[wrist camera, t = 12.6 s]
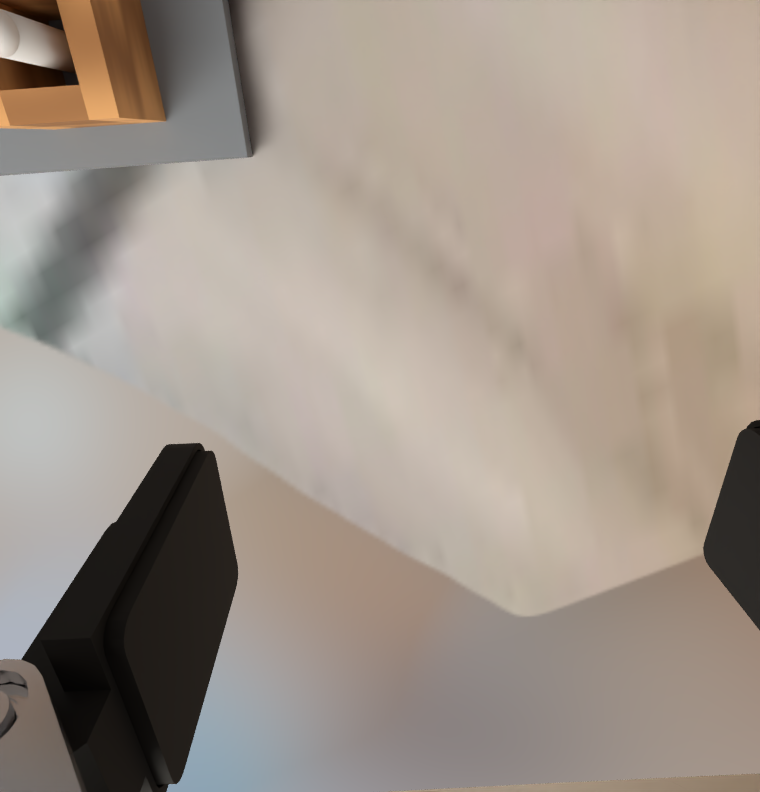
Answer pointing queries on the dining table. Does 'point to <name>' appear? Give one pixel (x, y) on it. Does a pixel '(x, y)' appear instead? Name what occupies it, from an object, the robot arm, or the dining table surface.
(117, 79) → the cube
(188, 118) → the rod stand
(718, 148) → the dining table surface
